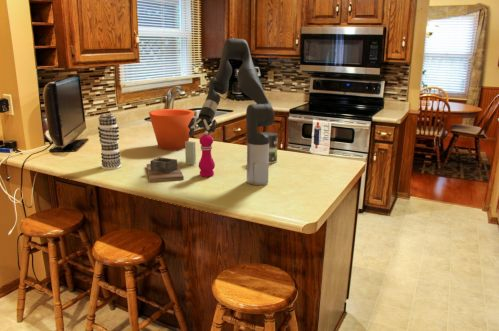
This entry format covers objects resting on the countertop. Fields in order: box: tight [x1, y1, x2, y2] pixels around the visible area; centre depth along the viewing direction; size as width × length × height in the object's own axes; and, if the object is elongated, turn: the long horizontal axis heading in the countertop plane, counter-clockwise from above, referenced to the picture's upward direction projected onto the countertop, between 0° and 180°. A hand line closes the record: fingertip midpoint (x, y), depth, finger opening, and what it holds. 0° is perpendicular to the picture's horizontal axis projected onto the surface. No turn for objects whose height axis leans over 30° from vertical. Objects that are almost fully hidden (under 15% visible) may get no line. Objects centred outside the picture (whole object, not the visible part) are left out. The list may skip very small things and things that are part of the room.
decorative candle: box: [97, 113, 122, 170], centre depth 196 cm, size 9×9×25 cm
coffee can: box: [259, 131, 279, 165], centre depth 211 cm, size 10×10×14 cm
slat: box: [184, 140, 197, 166], centre depth 204 cm, size 4×2×11 cm, turn 67°
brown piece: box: [146, 157, 185, 183], centre depth 190 cm, size 14×24×6 cm, turn 17°
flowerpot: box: [148, 108, 195, 151], centre depth 237 cm, size 25×25×20 cm
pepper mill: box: [198, 130, 216, 178], centre depth 186 cm, size 7×7×20 cm
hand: (197, 136), depth 209 cm, fingers open, 8 cm apart
